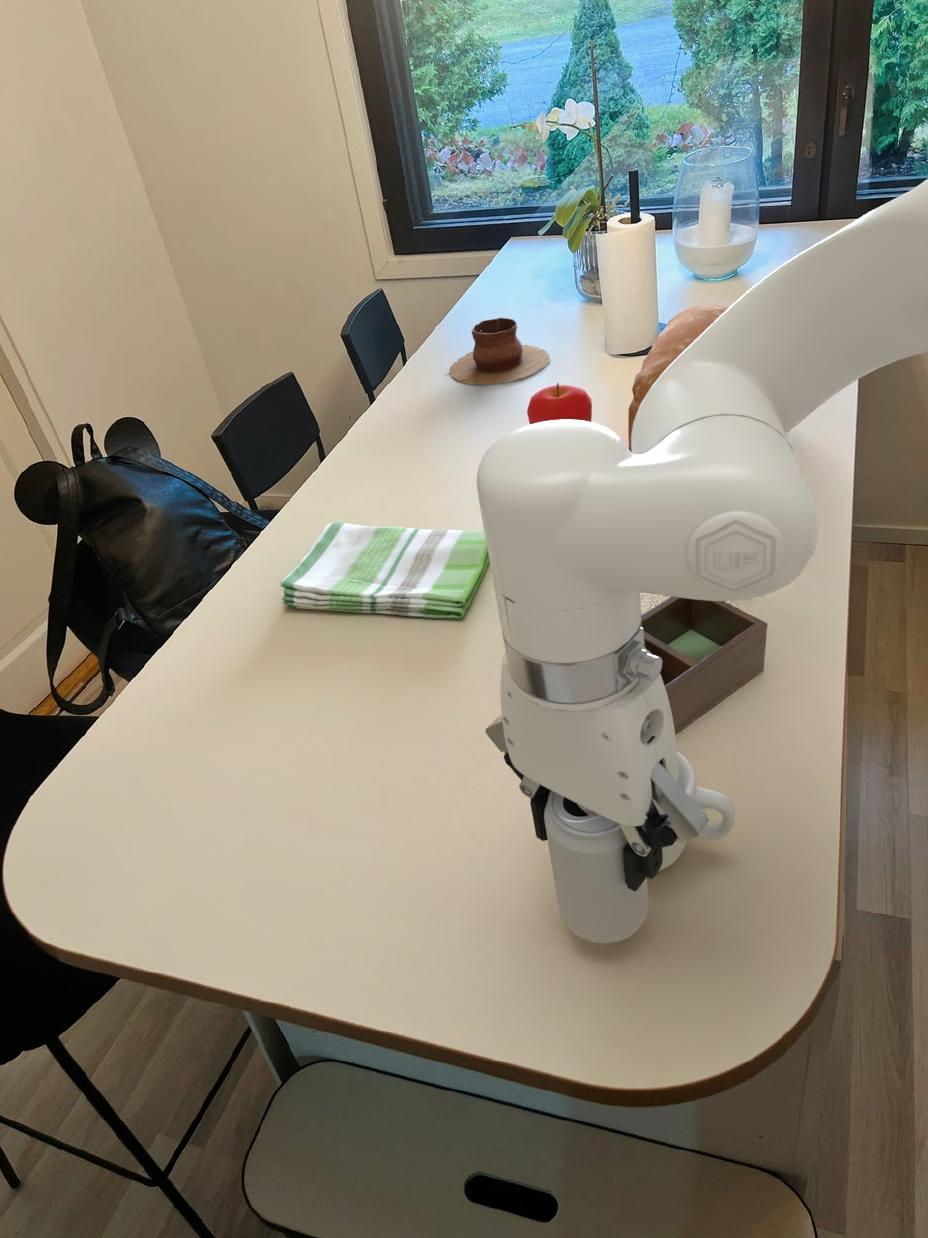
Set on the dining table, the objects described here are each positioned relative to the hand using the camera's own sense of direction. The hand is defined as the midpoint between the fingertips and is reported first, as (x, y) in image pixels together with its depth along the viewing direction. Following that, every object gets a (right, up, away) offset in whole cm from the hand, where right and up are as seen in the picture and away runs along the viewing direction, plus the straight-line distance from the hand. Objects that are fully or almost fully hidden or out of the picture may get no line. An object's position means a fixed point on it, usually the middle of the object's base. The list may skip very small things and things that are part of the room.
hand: (596, 847), depth 59 cm
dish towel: (-17, +21, +47) cm, 54 cm away
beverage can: (+1, -6, +4) cm, 7 cm away
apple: (+5, +37, +63) cm, 74 cm away
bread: (+24, +41, +63) cm, 79 cm away
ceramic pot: (-3, +60, +95) cm, 113 cm away
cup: (+7, -3, +11) cm, 13 cm away
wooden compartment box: (+10, +8, +24) cm, 28 cm away
